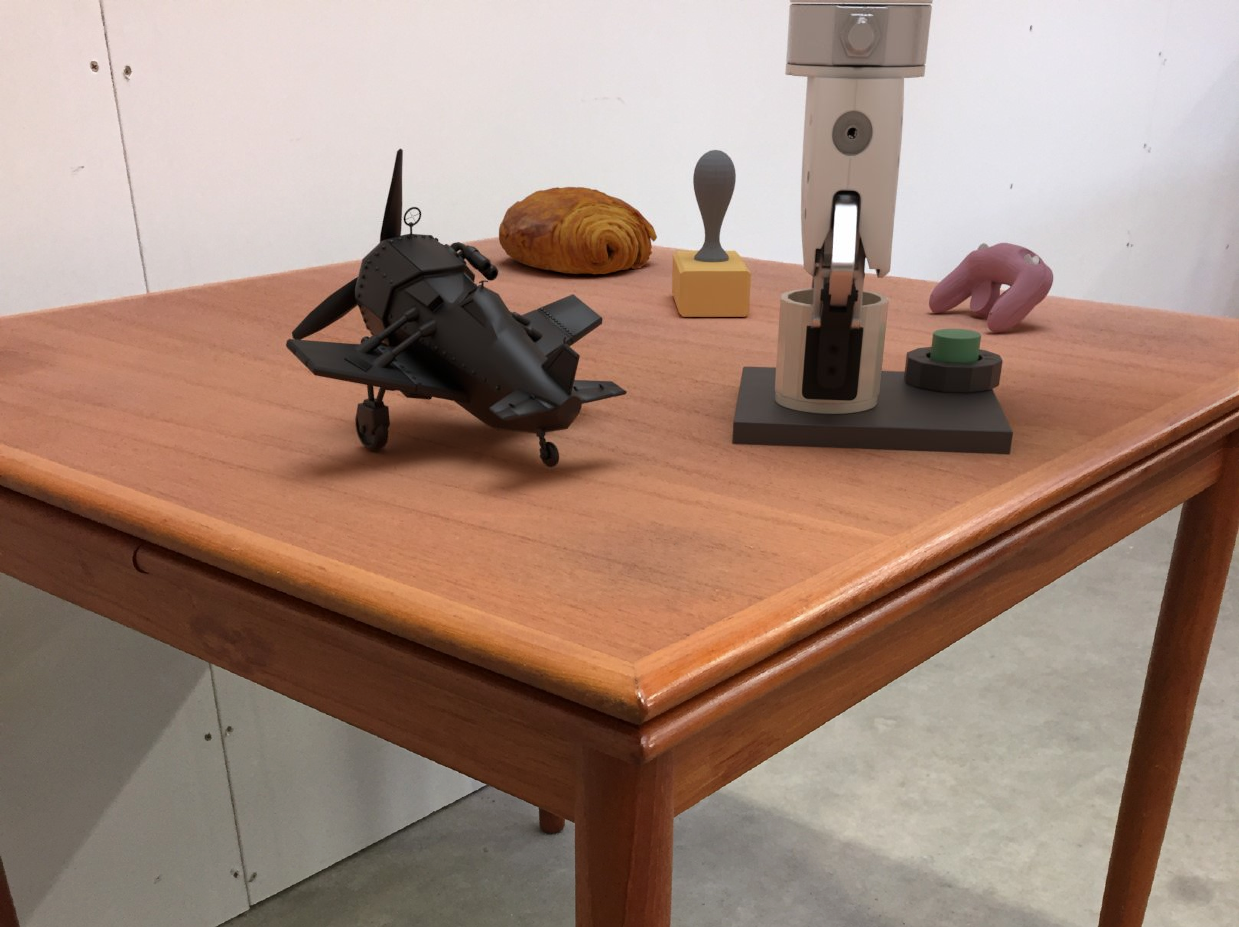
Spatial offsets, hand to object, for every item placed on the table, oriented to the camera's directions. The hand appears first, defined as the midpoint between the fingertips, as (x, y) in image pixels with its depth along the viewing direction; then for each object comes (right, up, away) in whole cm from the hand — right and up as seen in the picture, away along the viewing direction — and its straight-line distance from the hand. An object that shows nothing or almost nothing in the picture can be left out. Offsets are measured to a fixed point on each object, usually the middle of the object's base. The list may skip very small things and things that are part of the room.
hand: (828, 380), depth 82 cm
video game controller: (+17, +14, +28) cm, 36 cm away
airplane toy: (-21, -5, -3) cm, 22 cm away
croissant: (-17, +28, +51) cm, 60 cm away
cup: (0, -1, +1) cm, 1 cm away
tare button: (+9, +3, +4) cm, 10 cm away
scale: (+3, -2, +2) cm, 4 cm away
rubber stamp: (-5, +17, +33) cm, 38 cm away
